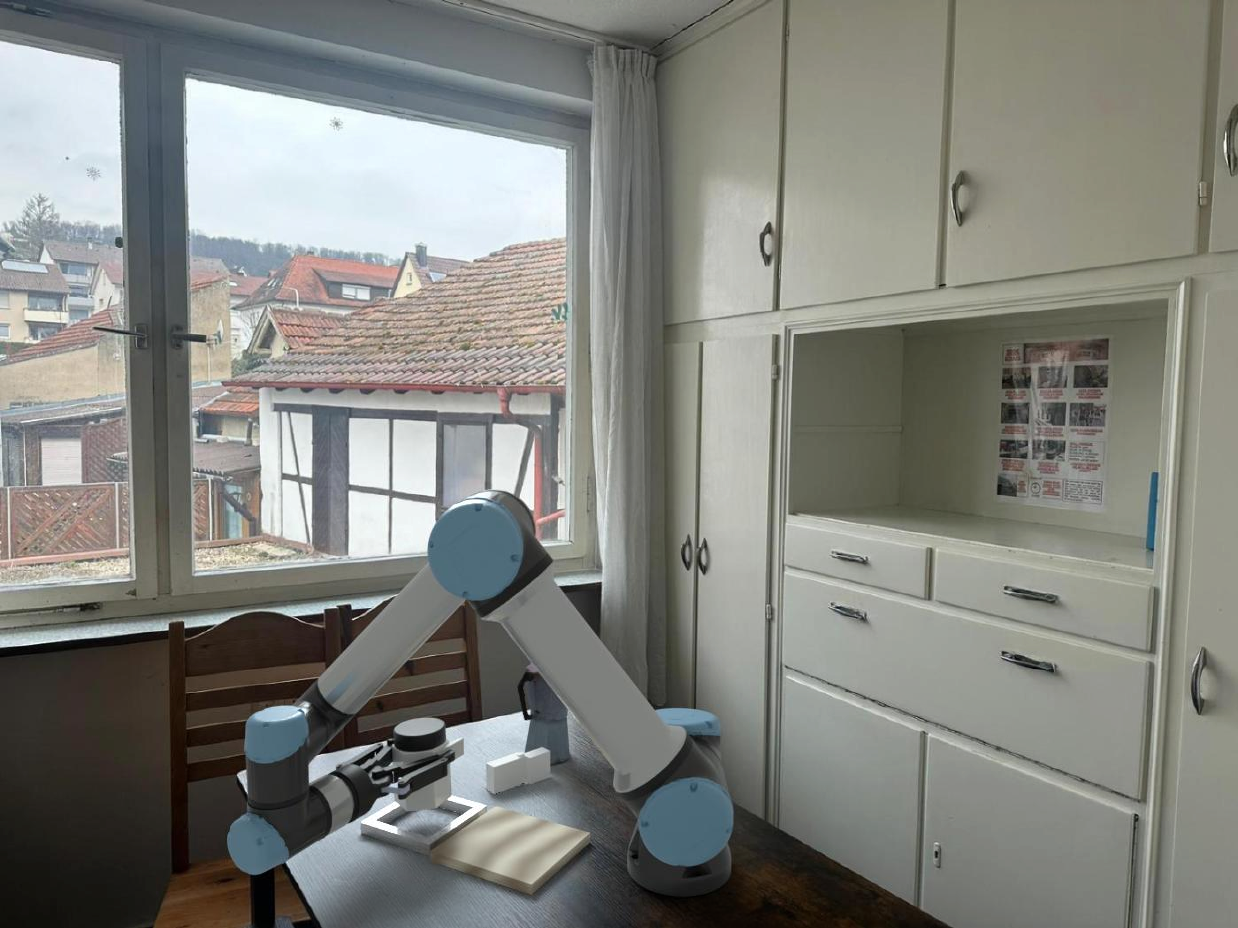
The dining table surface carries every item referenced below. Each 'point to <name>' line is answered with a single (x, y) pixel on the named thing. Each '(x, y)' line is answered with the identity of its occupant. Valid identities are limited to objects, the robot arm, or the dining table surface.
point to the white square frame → (383, 831)
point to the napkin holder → (517, 770)
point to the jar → (417, 744)
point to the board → (511, 849)
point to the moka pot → (544, 717)
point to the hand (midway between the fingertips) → (443, 741)
